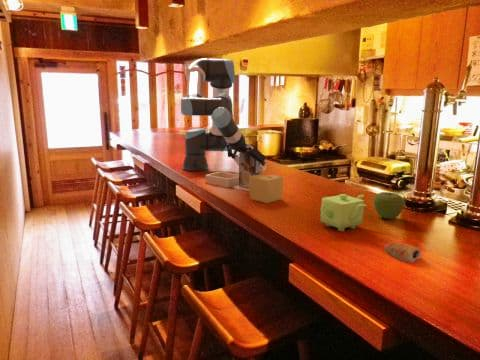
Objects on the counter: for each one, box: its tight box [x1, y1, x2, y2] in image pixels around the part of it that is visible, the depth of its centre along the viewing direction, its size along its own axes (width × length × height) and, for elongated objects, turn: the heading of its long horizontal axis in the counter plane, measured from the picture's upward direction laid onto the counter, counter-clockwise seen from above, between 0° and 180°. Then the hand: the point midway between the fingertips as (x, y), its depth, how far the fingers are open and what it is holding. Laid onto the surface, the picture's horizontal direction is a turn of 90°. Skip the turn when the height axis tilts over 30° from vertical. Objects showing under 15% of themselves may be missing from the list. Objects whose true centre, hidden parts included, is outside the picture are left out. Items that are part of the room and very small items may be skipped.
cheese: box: [248, 174, 284, 204], centre depth 161 cm, size 10×11×10 cm
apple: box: [372, 191, 407, 220], centre depth 139 cm, size 11×10×10 cm
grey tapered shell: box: [384, 242, 422, 263], centre depth 107 cm, size 9×7×4 cm
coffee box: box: [238, 152, 262, 188], centre depth 179 cm, size 9×6×16 cm
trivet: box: [232, 185, 249, 192], centre depth 181 cm, size 11×11×1 cm
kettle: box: [319, 193, 367, 232], centre depth 129 cm, size 15×14×11 cm
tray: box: [204, 171, 239, 188], centre depth 189 cm, size 12×15×4 cm
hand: (252, 167), depth 181 cm, fingers open, 13 cm apart
